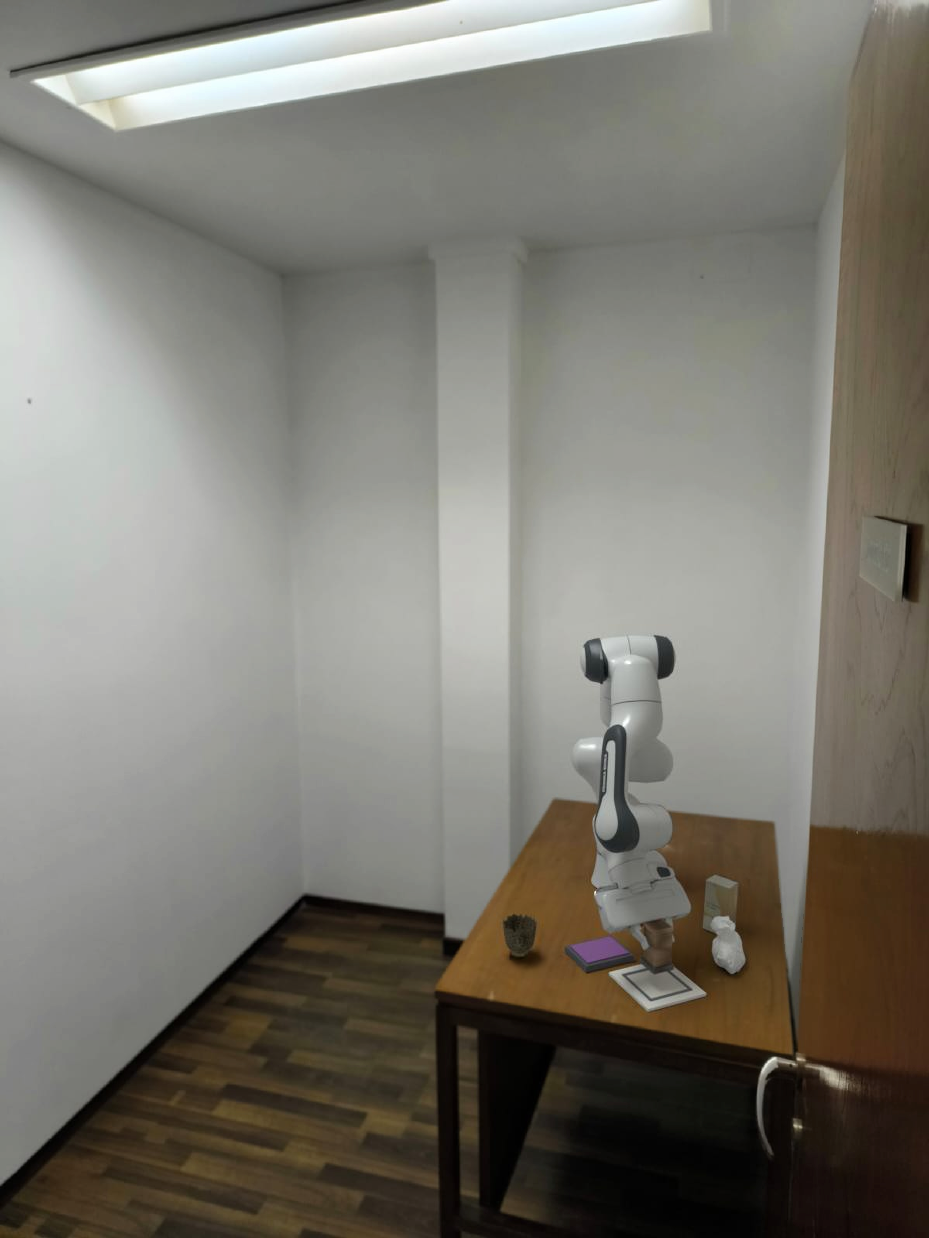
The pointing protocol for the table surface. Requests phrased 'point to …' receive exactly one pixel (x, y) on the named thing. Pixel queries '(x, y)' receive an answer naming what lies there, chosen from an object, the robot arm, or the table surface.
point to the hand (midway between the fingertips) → (659, 945)
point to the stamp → (658, 947)
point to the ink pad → (599, 953)
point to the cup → (519, 934)
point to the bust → (727, 945)
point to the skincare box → (719, 900)
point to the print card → (656, 987)
